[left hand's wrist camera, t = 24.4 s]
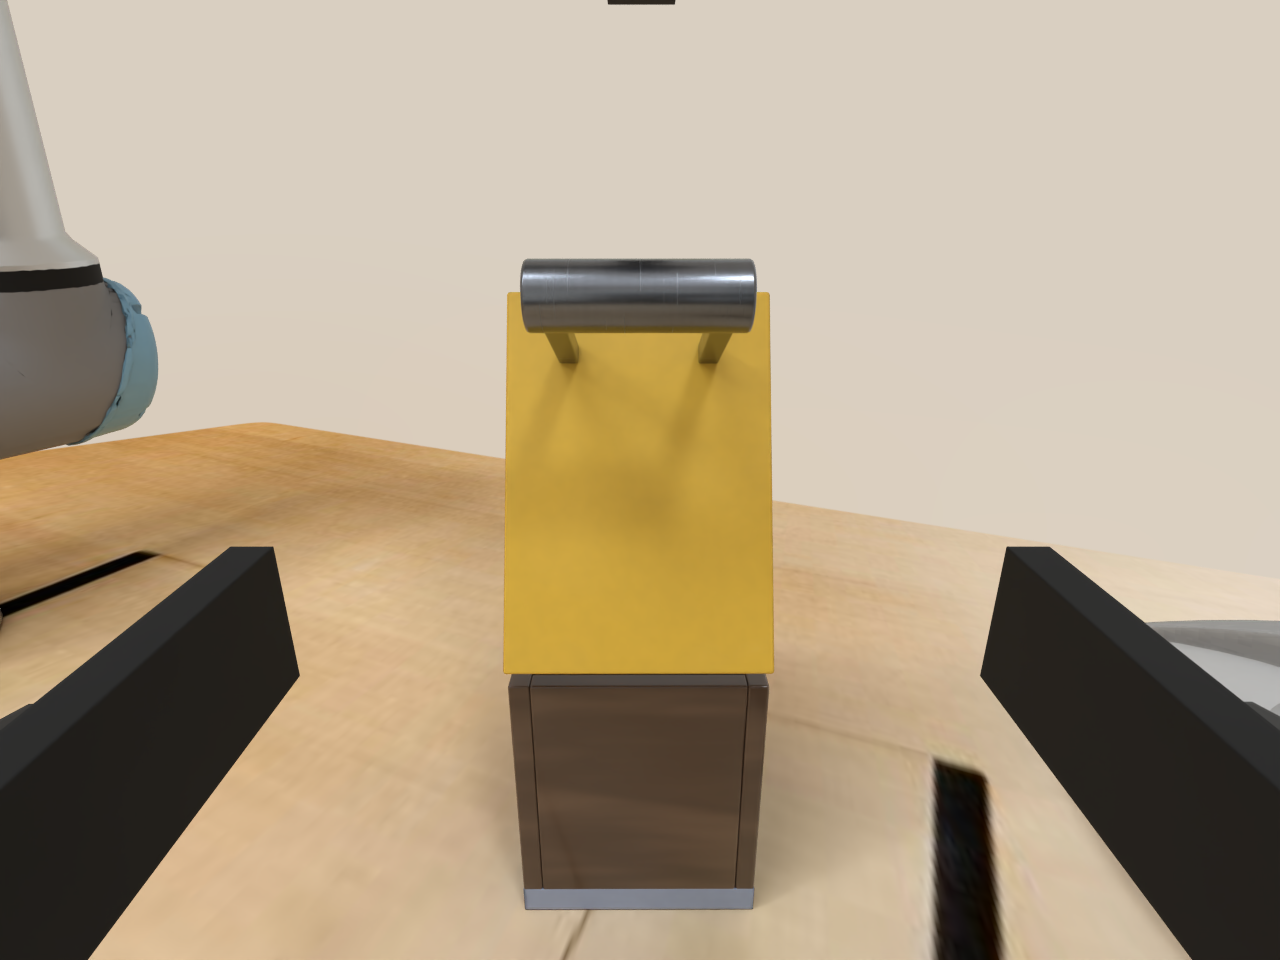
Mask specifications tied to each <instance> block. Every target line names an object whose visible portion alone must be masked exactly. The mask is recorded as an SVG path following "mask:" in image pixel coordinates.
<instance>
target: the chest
mask: <svg viewBox="0 0 1280 960" xmlns="http://www.w3.org/2000/svg"><path fill="white" fill-rule="evenodd" d="M508 693H509V705H510V718H511V730H512V743H513V755H514V768H515V780H516V793H517V805H518V818H519V830H520V843H521V855H522V868H523V880H524V900H525V909H753V897H754V875H755V862H756V850H757V837H758V824H759V811H760V799H761V786H762V773H763V760H764V747H765V735H766V722H767V709H768V696H769V685H768V681H767V678H766V674H512V675H511V679H510V682H509V686H508Z"/></svg>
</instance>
